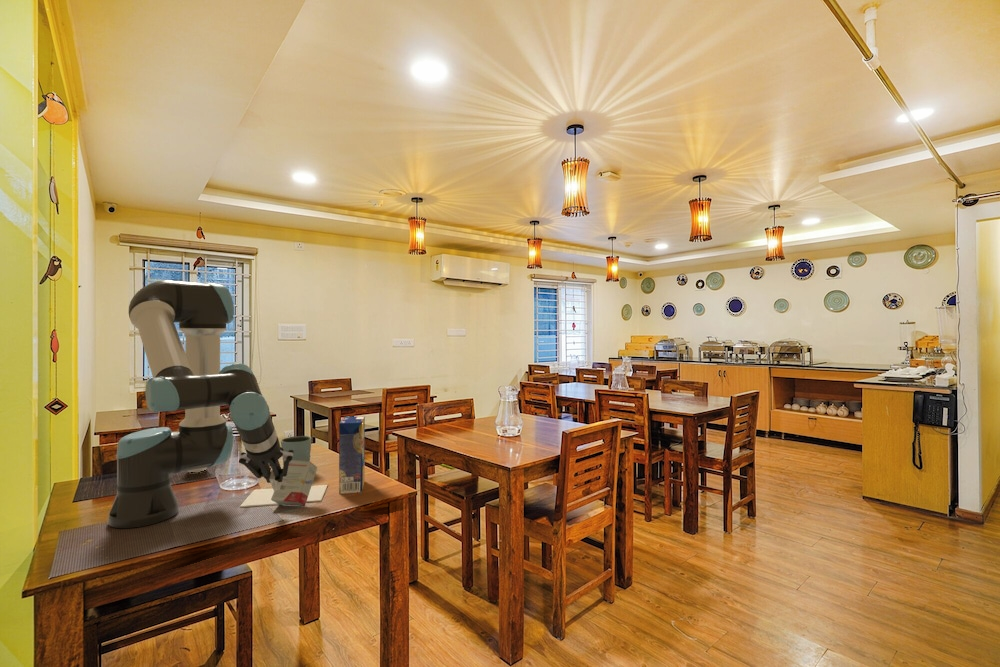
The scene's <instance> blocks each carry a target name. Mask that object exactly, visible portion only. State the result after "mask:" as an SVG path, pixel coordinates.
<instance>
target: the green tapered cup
mask: <svg viewBox="0 0 1000 667" xmlns="http://www.w3.org/2000/svg"><path fill="white" fill-rule="evenodd" d="M280 447H281V448H283V450H284V451H286V452H288V451H289V450H293V451H294V452H293V458H292V460H298V461H310V462H311V450H312V437H311V436H308V435H295V436H289V437H285V438H282V439H281V440H280ZM282 465H283V466H284V458H283V457H282Z"/></svg>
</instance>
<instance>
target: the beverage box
mask: <svg viewBox="0 0 1000 667" xmlns="http://www.w3.org/2000/svg"><path fill="white" fill-rule="evenodd" d="M365 418H366V416H365V415H363V416H343V417H342V419H341V420H340V421H339V424H338V427H339V430H338V432H339V433H338V434H339V435H338V441H339V442H338V444H339V445H338V446H339V447H338V448H339V449H338V452H339V453H338V455H339V456H338V459H339V460H338V469H339V470H338V472H339V473H338V478H339V479H338V483H339V484H338V487H339V488H338V494H339V495H340V494H341V495H342V494H343V495H344V494H354V493H357V492H358V493H362V492H363V489H364V485H365V480H366V479H365V474H366V473H365V470H366V469H365V464H366V462H365V461H366V460H365V458H366V457H365V455H366V454H365V449H366V448H365V443H366V442H365V438H366V436H365V431H366V429H365V427H366V426H365V421H366V420H365Z"/></svg>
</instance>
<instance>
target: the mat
mask: <svg viewBox="0 0 1000 667" xmlns="http://www.w3.org/2000/svg"><path fill="white" fill-rule="evenodd" d="M328 486H329V485H328V484H321V485H320V484H319V485H312V486H311V489H310V492H309V495H308V498H307V501H306V504H307V503H317V502H322V500H323V498H324V496H325V493H326V490H327V489H328ZM273 493H274V490H273V488H260V489H253V490H252V492H251V493H250V494H249V495H248V496H247V497H246V498H245V500H244V501H243V502H242V503H241V504H240V506H239V508H246V507H247V508H250V507H253V508H254V507H263V506H264V507H266V506H274V505H275V506H278V505H279V504H278V503H276V502H274V501H272V500H271V498H272V495H273Z"/></svg>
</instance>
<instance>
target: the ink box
mask: <svg viewBox="0 0 1000 667" xmlns="http://www.w3.org/2000/svg"><path fill="white" fill-rule="evenodd" d="M318 468H319V467H318V466H316V464H315V463H314V462H312V461H311V460H310V461H298V460H291V461H290V462H289V466H288V471H287V476H285V477H284V476H283V480H282V482H281V486H280V490H275V491H274V493H273V495H272V498H271V500H272V501H274V502H276V503H278V504H279V505H281V506H295V507H306V504H307V503H306V501H307V498H308V495H309V492H310V489H311V486H313V483H314V480H315V476H316V474H317V471H318Z"/></svg>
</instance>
